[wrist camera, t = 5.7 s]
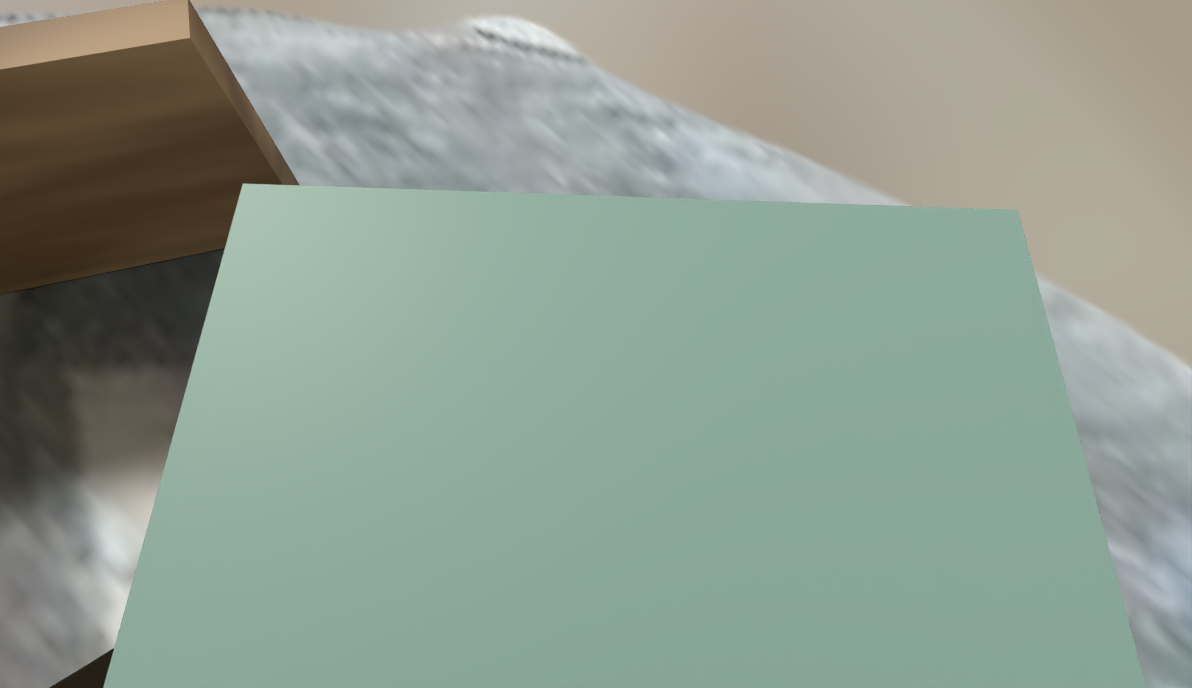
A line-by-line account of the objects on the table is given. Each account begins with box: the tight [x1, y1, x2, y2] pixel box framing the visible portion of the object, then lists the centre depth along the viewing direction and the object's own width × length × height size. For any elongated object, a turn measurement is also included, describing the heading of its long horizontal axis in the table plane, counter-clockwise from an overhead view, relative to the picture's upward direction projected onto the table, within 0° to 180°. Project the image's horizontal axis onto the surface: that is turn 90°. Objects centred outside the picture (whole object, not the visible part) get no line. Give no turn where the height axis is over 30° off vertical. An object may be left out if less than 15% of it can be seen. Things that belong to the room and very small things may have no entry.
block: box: [103, 184, 1146, 688], centre depth 9 cm, size 5×5×12 cm
